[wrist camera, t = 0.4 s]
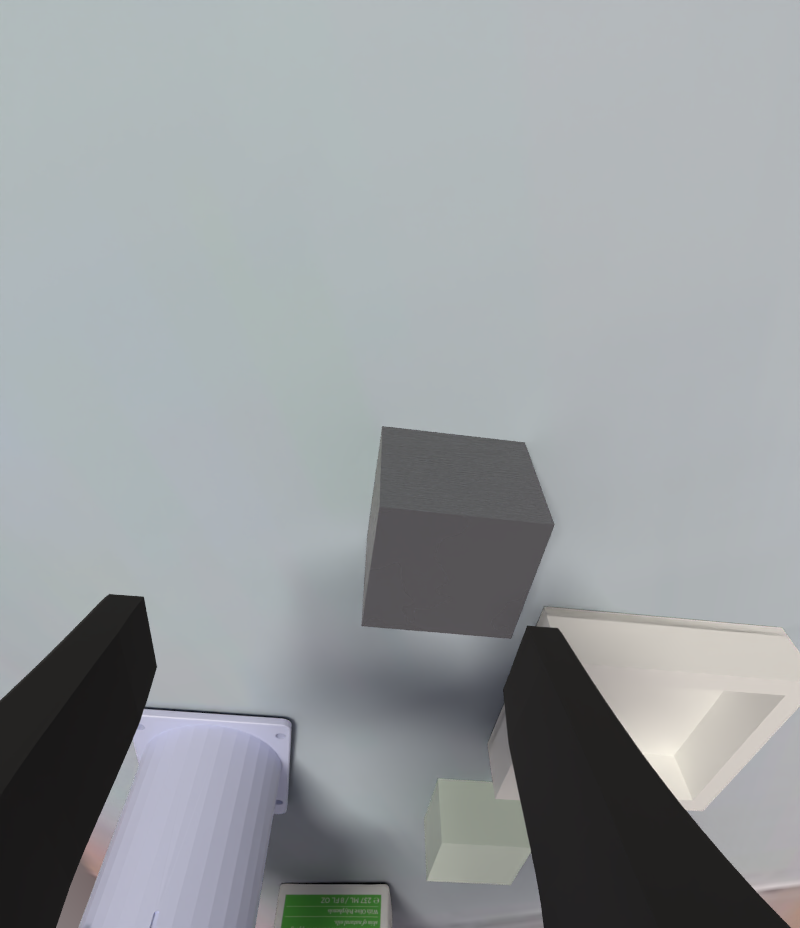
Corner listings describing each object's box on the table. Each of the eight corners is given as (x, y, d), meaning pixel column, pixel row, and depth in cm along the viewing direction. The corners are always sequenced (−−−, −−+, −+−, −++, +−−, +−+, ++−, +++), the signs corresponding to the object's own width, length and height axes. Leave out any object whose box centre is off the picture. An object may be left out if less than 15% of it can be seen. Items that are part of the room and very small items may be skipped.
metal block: (491, 546, 22) (510, 638, 19) (367, 533, 22) (361, 625, 18) (524, 440, 20) (554, 524, 16) (382, 424, 19) (379, 506, 16)
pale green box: (501, 820, 36) (510, 885, 33) (423, 815, 35) (426, 881, 33) (521, 780, 33) (533, 847, 30) (437, 775, 33) (441, 842, 30)
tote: (680, 757, 31) (703, 811, 29) (487, 744, 30) (495, 798, 28) (781, 627, 25) (821, 682, 23) (544, 606, 24) (559, 661, 22)
